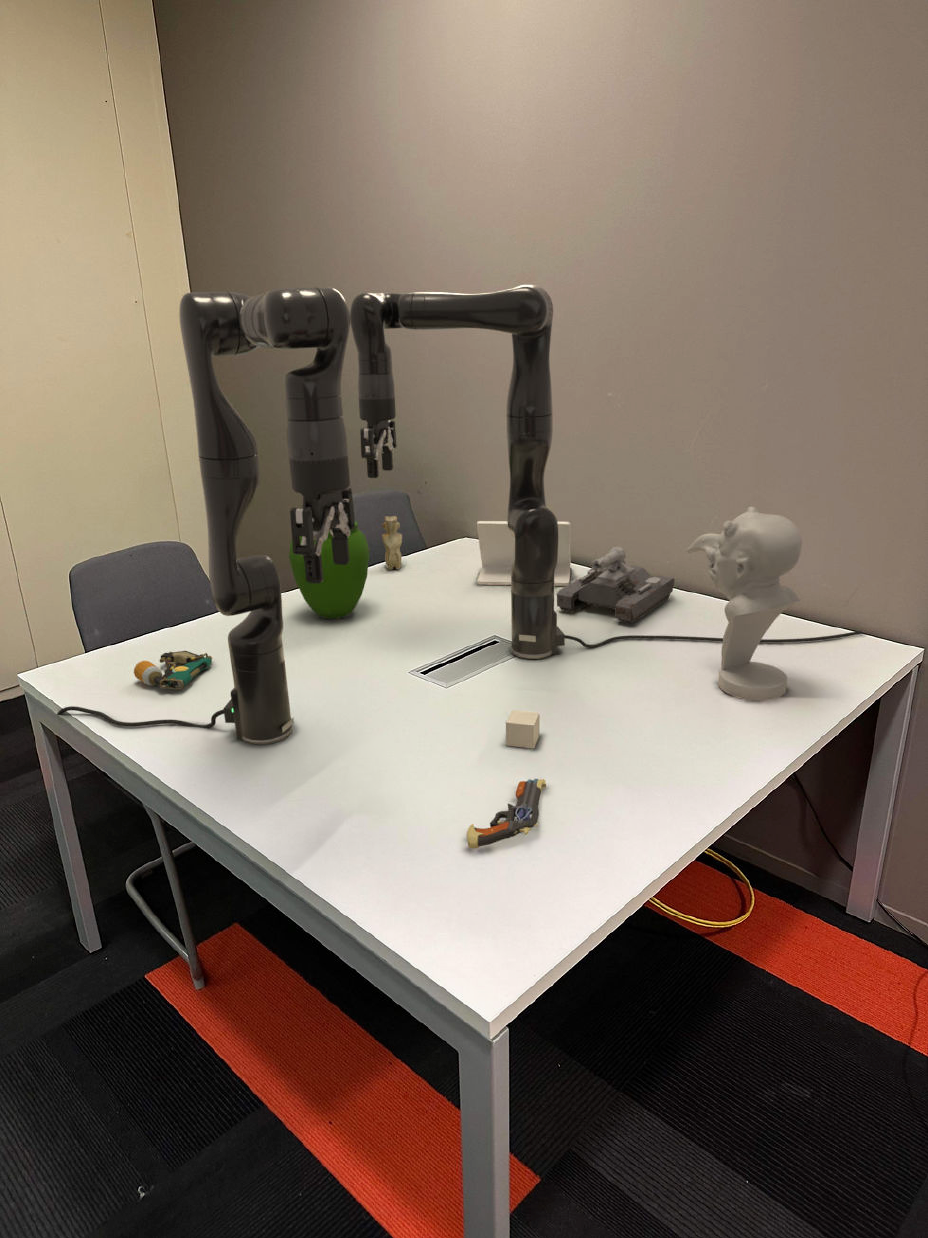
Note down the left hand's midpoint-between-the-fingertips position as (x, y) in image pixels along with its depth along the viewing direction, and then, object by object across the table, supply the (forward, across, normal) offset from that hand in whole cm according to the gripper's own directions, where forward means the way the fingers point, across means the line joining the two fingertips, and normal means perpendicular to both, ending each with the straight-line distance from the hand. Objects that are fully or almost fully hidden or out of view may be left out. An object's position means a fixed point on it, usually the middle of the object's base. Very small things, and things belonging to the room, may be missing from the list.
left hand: (328, 572), depth 116 cm
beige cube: (+39, +30, -20) cm, 53 cm away
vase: (+39, +82, +40) cm, 99 cm away
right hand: (0, +68, +20) cm, 71 cm away
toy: (+39, +103, -27) cm, 114 cm away
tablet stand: (+39, +122, 0) cm, 128 cm away
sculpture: (+39, +122, +39) cm, 134 cm away
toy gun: (+39, +6, -23) cm, 46 cm away
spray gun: (+39, +40, +57) cm, 80 cm away
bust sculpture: (+39, +62, -56) cm, 92 cm away
